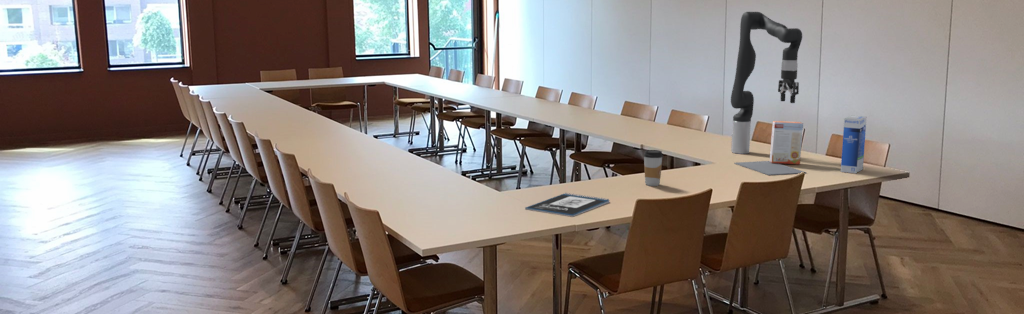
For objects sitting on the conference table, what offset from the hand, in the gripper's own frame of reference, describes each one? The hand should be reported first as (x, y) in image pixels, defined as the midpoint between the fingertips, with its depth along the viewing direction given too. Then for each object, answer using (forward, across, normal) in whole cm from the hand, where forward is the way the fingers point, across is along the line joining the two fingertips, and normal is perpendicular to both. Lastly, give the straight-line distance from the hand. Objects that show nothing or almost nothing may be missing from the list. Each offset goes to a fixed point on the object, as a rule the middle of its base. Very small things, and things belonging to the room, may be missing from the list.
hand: (787, 102), depth 430 cm
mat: (+31, +9, -14) cm, 35 cm away
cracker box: (+31, 0, 0) cm, 31 cm away
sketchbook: (+32, +59, -134) cm, 150 cm away
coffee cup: (+31, +30, -85) cm, 95 cm away
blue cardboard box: (+31, +25, +21) cm, 45 cm away
